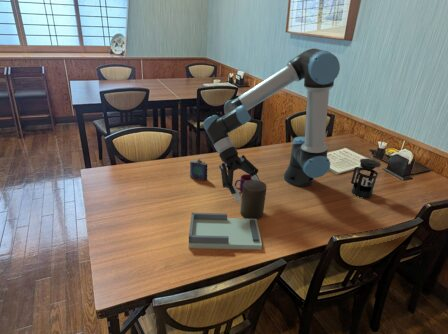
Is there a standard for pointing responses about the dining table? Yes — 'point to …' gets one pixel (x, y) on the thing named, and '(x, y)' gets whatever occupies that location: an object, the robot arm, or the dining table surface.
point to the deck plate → (223, 232)
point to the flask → (198, 170)
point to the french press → (363, 182)
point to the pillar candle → (253, 199)
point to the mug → (243, 179)
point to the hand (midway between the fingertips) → (250, 194)
